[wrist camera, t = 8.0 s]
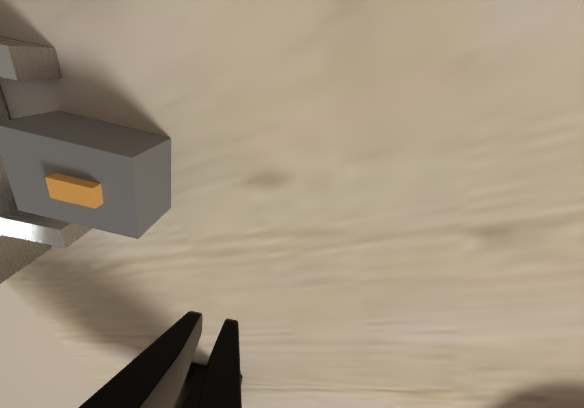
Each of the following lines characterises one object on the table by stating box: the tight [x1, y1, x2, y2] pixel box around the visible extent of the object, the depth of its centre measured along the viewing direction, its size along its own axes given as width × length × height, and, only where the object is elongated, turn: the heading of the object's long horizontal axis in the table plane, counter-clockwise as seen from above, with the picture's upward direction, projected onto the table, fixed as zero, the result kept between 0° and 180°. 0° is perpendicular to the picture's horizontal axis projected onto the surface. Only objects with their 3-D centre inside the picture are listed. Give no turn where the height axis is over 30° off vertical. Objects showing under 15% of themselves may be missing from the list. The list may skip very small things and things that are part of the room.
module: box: [0, 111, 171, 239], centre depth 16 cm, size 5×7×5 cm
